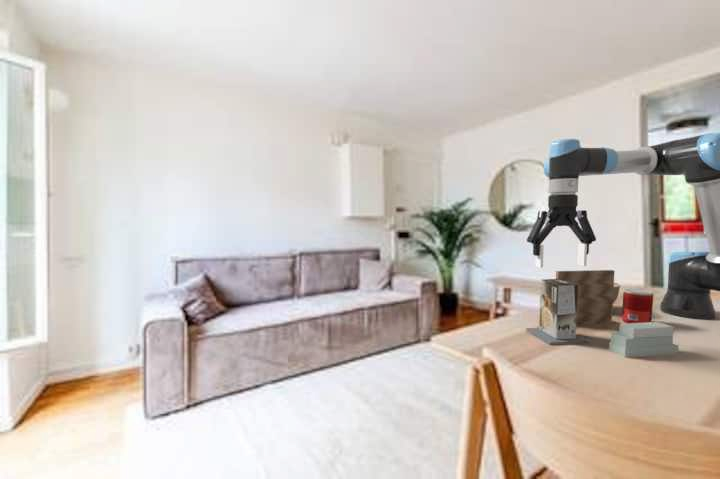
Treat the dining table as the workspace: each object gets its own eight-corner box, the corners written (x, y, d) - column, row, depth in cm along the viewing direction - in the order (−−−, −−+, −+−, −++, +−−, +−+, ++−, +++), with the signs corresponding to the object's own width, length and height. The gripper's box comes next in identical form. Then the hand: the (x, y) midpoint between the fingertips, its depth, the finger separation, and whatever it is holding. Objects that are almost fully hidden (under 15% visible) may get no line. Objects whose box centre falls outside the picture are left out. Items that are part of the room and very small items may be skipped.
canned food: (656, 327, 117) (658, 294, 116) (628, 325, 119) (631, 292, 118) (642, 319, 125) (645, 288, 124) (617, 318, 126) (619, 287, 125)
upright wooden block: (598, 318, 126) (601, 267, 125) (611, 323, 121) (614, 270, 119) (545, 319, 124) (547, 268, 123) (555, 325, 119) (558, 271, 117)
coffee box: (577, 339, 104) (579, 284, 102) (556, 339, 103) (558, 285, 102) (556, 328, 113) (559, 278, 112) (537, 329, 112) (539, 278, 111)
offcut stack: (659, 347, 100) (661, 321, 100) (677, 354, 95) (679, 327, 95) (608, 350, 98) (610, 323, 97) (624, 358, 93) (626, 330, 92)
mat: (561, 329, 115) (561, 326, 115) (589, 343, 103) (589, 340, 103) (526, 330, 113) (526, 328, 113) (549, 344, 101) (550, 342, 101)
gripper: (530, 194, 99) (528, 269, 101) (612, 193, 102) (609, 266, 104) (515, 195, 107) (514, 265, 109) (592, 194, 109) (590, 262, 111)
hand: (560, 266), depth 106 cm, fingers open, 13 cm apart
